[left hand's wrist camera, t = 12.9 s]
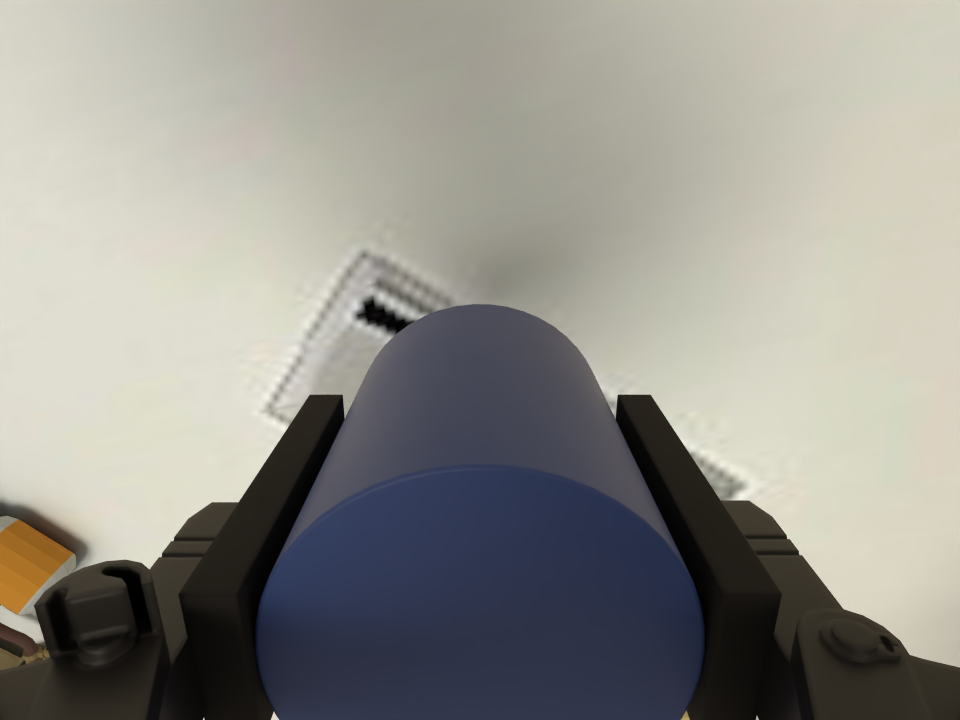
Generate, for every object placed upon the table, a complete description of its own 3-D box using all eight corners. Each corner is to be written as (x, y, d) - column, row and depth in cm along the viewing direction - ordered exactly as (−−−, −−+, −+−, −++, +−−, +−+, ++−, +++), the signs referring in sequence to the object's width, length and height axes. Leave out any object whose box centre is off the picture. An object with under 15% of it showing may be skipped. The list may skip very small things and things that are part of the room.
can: (307, 409, 16) (158, 645, 8) (494, 249, 14) (509, 366, 7) (468, 562, 17) (459, 871, 10) (649, 433, 16) (793, 683, 9)
